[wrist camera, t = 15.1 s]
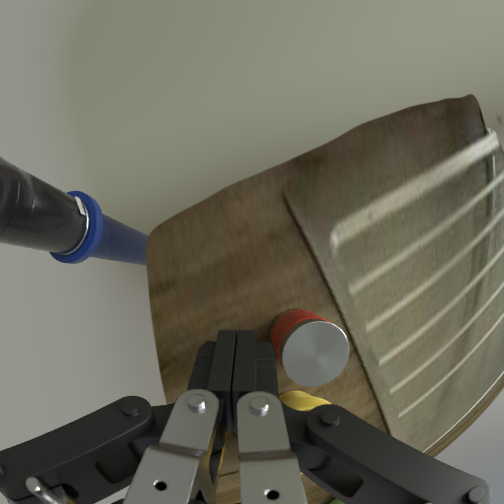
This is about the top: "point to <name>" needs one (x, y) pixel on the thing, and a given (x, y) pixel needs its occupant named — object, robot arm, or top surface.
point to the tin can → (309, 347)
